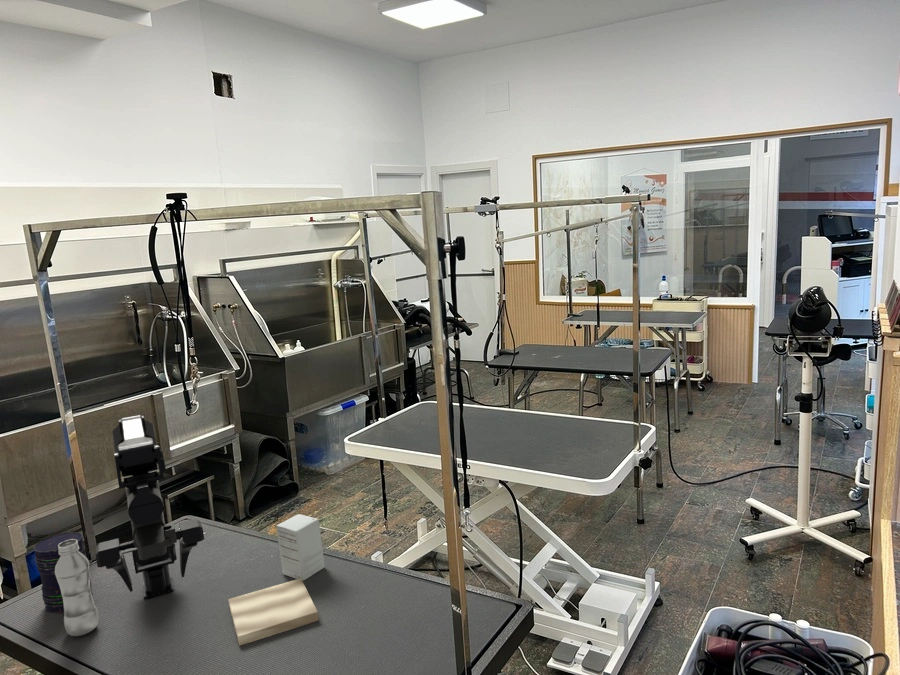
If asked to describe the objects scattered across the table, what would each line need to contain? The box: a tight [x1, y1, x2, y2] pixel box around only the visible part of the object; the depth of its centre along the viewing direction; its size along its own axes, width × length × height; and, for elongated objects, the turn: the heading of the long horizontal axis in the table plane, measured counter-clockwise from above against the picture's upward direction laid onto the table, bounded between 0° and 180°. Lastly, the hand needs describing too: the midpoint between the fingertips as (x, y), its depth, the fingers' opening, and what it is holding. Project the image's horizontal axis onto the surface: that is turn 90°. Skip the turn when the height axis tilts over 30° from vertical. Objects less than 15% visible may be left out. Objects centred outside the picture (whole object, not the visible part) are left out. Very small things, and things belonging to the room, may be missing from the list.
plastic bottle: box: [55, 539, 99, 637], centre depth 139 cm, size 6×7×20 cm
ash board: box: [227, 578, 319, 646], centre depth 141 cm, size 16×16×2 cm
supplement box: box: [275, 513, 326, 582], centre depth 157 cm, size 7×7×13 cm
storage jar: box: [33, 531, 94, 615], centre depth 152 cm, size 10×10×15 cm
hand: (157, 583), depth 128 cm, fingers open, 9 cm apart
